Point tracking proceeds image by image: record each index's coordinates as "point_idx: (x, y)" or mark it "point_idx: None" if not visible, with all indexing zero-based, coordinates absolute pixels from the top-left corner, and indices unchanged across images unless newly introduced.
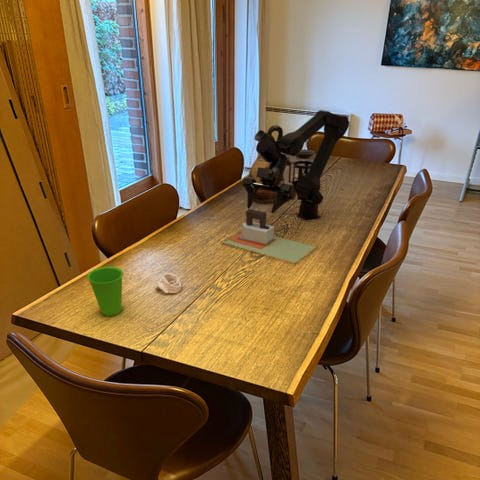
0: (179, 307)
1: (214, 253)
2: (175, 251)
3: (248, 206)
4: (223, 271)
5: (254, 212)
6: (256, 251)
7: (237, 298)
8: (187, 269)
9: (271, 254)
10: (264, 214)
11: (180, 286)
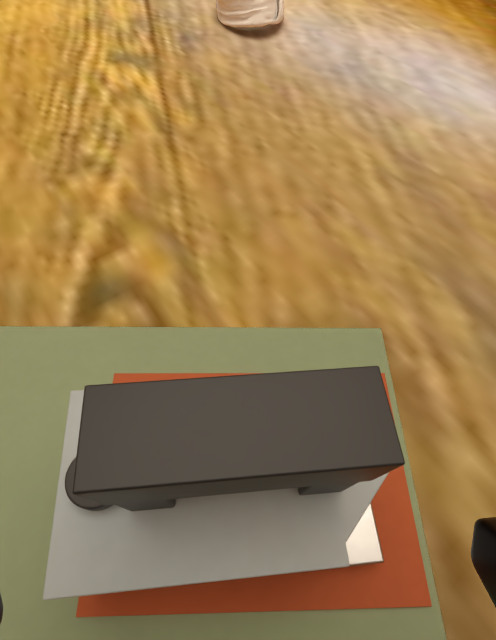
0: None
1: (323, 223)
2: (469, 163)
3: (491, 528)
4: (174, 131)
5: (245, 380)
6: (130, 329)
7: (33, 46)
8: (301, 94)
9: (21, 344)
10: (83, 423)
11: (222, 13)
